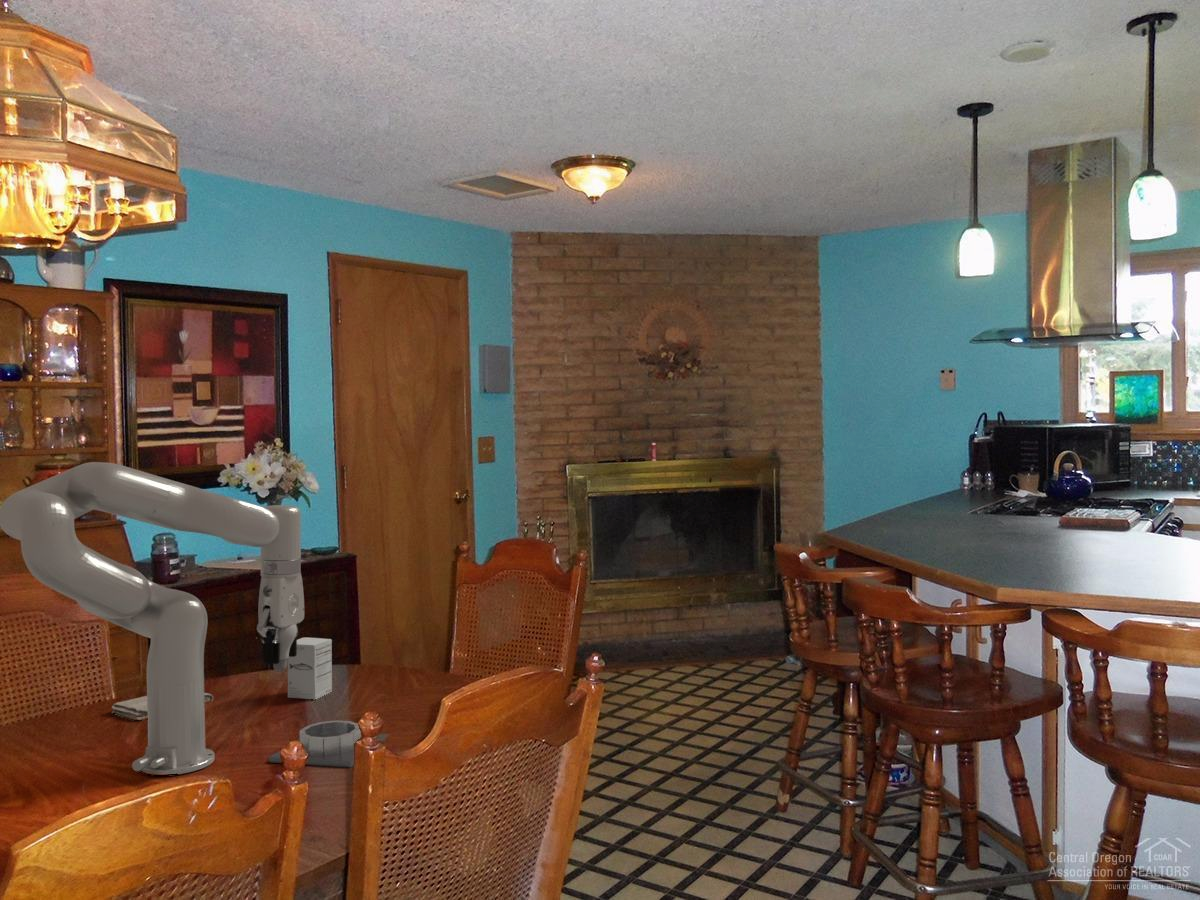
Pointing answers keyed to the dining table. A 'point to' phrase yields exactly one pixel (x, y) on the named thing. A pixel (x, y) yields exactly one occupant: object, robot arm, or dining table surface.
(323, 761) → the duct collar
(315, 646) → the supplement box
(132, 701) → the washcloth
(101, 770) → the dining table surface
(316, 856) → the dining table surface
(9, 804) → the dining table surface
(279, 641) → the lightbulb
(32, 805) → the dining table surface
